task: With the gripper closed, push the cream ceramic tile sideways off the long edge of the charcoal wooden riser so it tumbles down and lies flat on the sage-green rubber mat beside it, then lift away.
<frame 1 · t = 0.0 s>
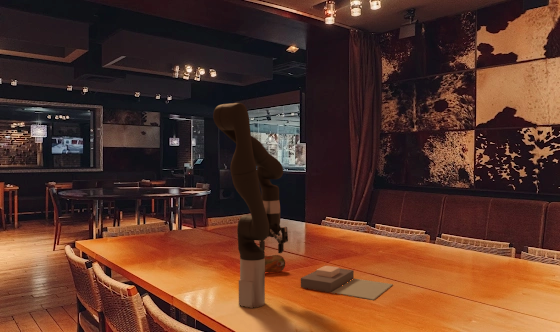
hand: (271, 251, 171), 17 cm above the table, tool pointing down, fingers open, 8 cm apart
mat: (363, 288, 179), on the table
riser: (328, 283, 188), on the table
tile: (328, 274, 188), point 4 cm above the table, touching riser
tin: (269, 272, 206), on the table
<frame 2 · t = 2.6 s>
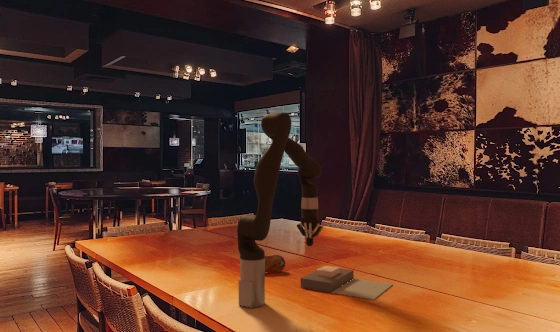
hand: (309, 245, 192), 15 cm above the table, tool pointing down, fingers closed
nothing on the table moved.
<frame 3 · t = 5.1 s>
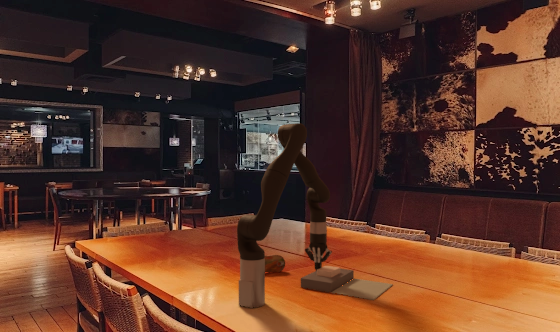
hand: (318, 270, 190), 5 cm above the table, tool pointing down, fingers closed
tile: (328, 274, 187), point 4 cm above the table, touching gripper, riser
everything else where it was.
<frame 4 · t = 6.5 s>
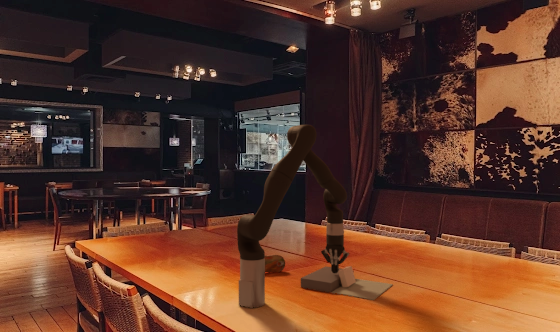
hand: (335, 272, 186), 5 cm above the table, tool pointing down, fingers closed
tile: (344, 277, 184), point 4 cm above the table, tilted 73°, touching mat
everything else where it was.
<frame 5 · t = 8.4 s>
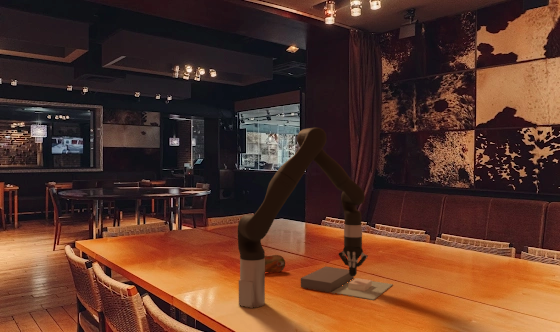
hand: (353, 275, 181), 5 cm above the table, tool pointing down, fingers closed
tile: (360, 281, 180), point 3 cm above the table, tilted 180°, touching mat
everything else where it was.
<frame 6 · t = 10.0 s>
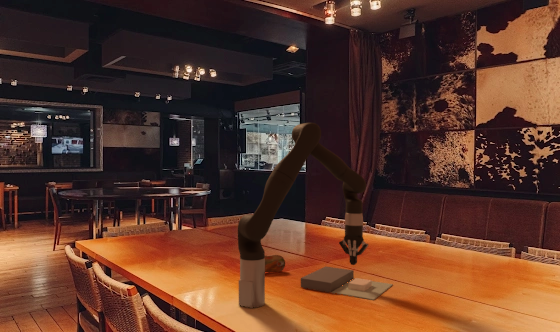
hand: (353, 264, 181), 10 cm above the table, tool pointing down, fingers closed
nothing on the table moved.
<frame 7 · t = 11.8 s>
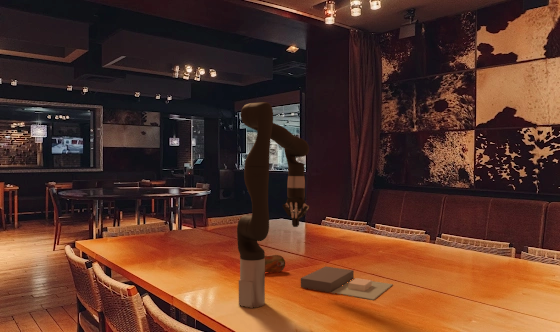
hand: (295, 226, 185), 25 cm above the table, tool pointing down, fingers closed
nothing on the table moved.
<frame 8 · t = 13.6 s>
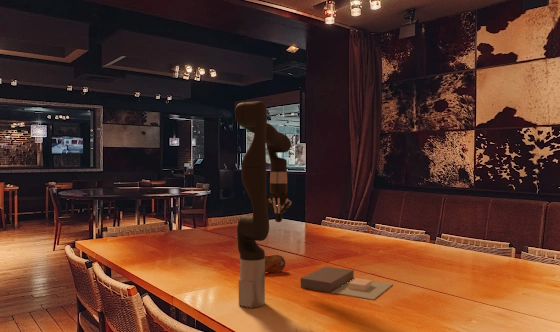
hand: (278, 221, 187), 27 cm above the table, tool pointing down, fingers closed
nothing on the table moved.
at the end: tile inside the target area (2.0 cm from its centre), point 2.8 cm above the table; tile touching mat; tin moved 0.3 cm from its start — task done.
